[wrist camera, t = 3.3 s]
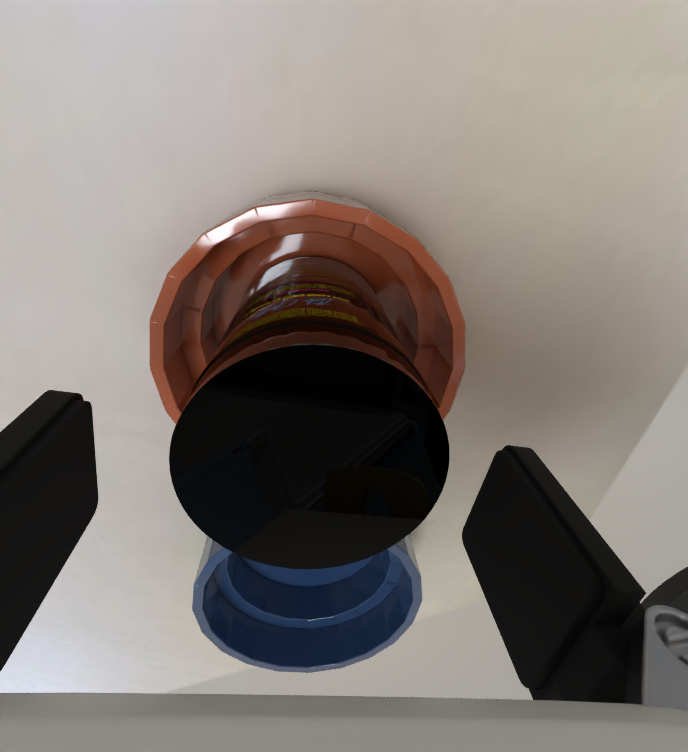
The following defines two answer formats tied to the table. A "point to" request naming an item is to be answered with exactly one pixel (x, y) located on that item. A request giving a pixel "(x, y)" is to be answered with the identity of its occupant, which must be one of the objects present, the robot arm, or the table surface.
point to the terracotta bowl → (293, 240)
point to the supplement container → (309, 426)
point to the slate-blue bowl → (306, 608)
